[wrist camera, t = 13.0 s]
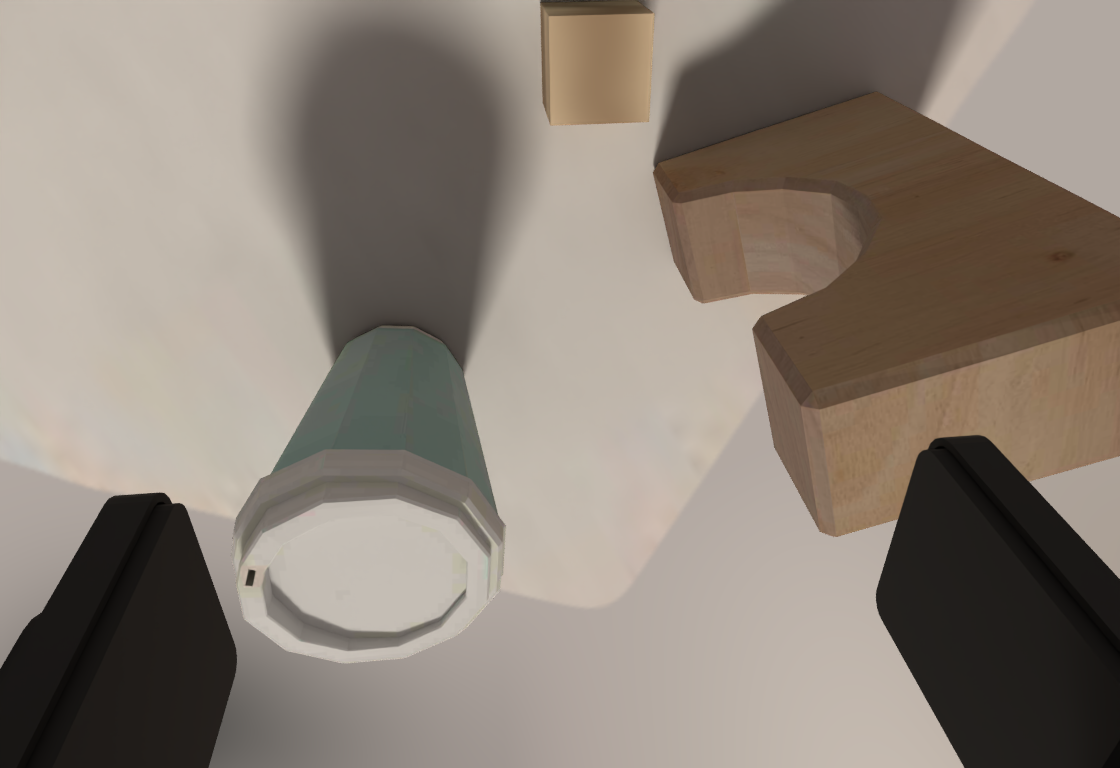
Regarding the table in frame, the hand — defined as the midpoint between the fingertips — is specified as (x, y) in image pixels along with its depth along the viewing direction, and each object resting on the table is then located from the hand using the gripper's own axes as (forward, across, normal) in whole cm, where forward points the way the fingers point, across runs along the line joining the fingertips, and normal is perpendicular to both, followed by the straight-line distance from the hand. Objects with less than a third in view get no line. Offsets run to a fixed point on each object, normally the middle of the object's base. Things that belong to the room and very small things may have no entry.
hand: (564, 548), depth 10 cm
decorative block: (+28, -13, +5) cm, 32 cm away
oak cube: (+28, -4, -1) cm, 29 cm away
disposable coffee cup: (+28, +6, +15) cm, 33 cm away
